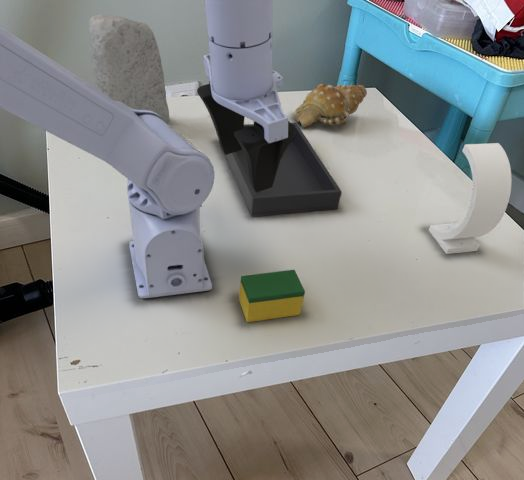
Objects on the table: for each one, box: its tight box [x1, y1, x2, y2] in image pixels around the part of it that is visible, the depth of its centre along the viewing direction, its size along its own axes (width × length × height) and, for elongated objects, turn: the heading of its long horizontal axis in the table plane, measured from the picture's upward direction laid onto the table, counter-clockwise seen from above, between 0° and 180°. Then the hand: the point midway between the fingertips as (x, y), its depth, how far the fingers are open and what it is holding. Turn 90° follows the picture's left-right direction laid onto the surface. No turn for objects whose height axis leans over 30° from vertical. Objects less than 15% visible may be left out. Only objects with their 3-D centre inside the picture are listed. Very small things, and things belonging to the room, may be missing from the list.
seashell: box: [293, 83, 368, 128], centre depth 83 cm, size 9×8×10 cm
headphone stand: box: [428, 142, 512, 255], centre depth 61 cm, size 5×6×12 cm
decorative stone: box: [88, 13, 170, 124], centre depth 71 cm, size 11×6×15 cm, turn 131°
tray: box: [218, 122, 343, 217], centre depth 71 cm, size 19×12×3 cm, turn 16°
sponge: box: [238, 269, 306, 323], centre depth 53 cm, size 6×4×4 cm, turn 106°
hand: (247, 168), depth 55 cm, fingers open, 7 cm apart
